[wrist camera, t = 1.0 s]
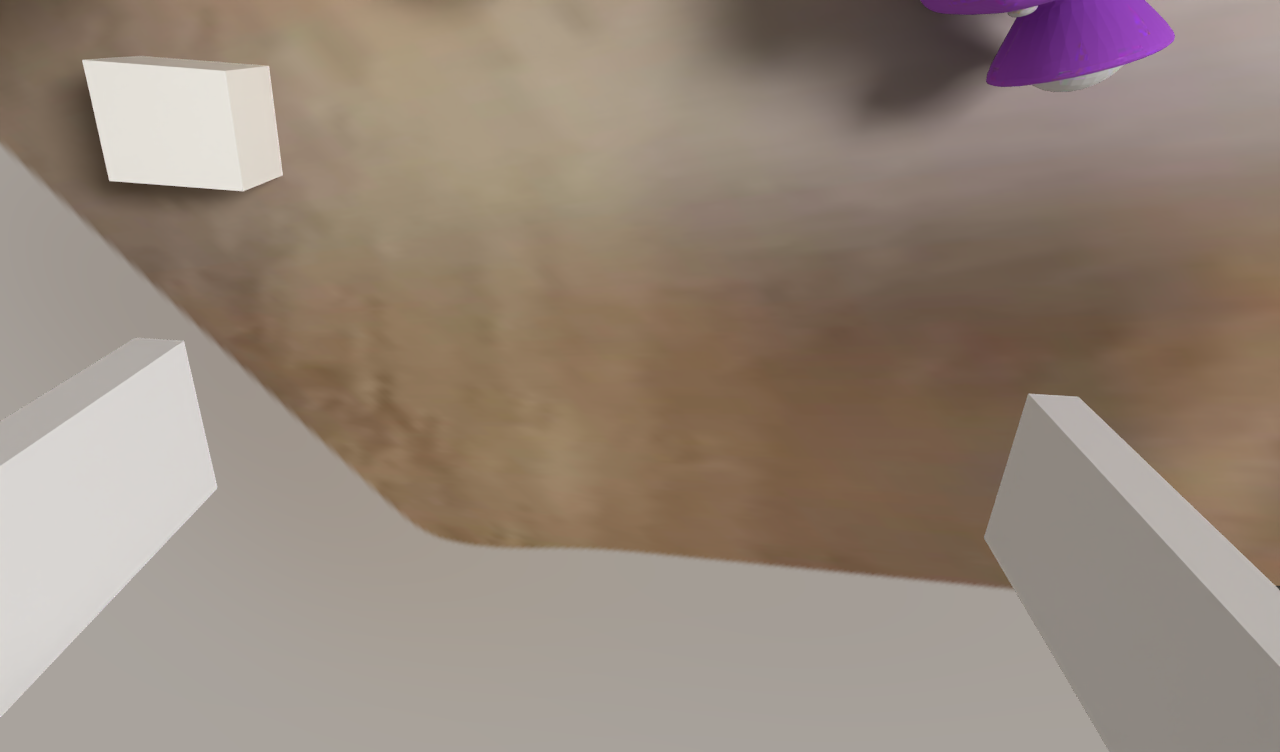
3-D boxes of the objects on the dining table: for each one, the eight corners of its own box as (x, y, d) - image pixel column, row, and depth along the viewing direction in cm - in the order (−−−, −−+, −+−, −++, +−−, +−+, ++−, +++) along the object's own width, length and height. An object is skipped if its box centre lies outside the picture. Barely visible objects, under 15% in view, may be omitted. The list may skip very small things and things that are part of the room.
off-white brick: (163, 165, 38) (109, 180, 34) (141, 55, 36) (82, 60, 32) (284, 174, 38) (243, 191, 34) (270, 65, 36) (225, 71, 32)
